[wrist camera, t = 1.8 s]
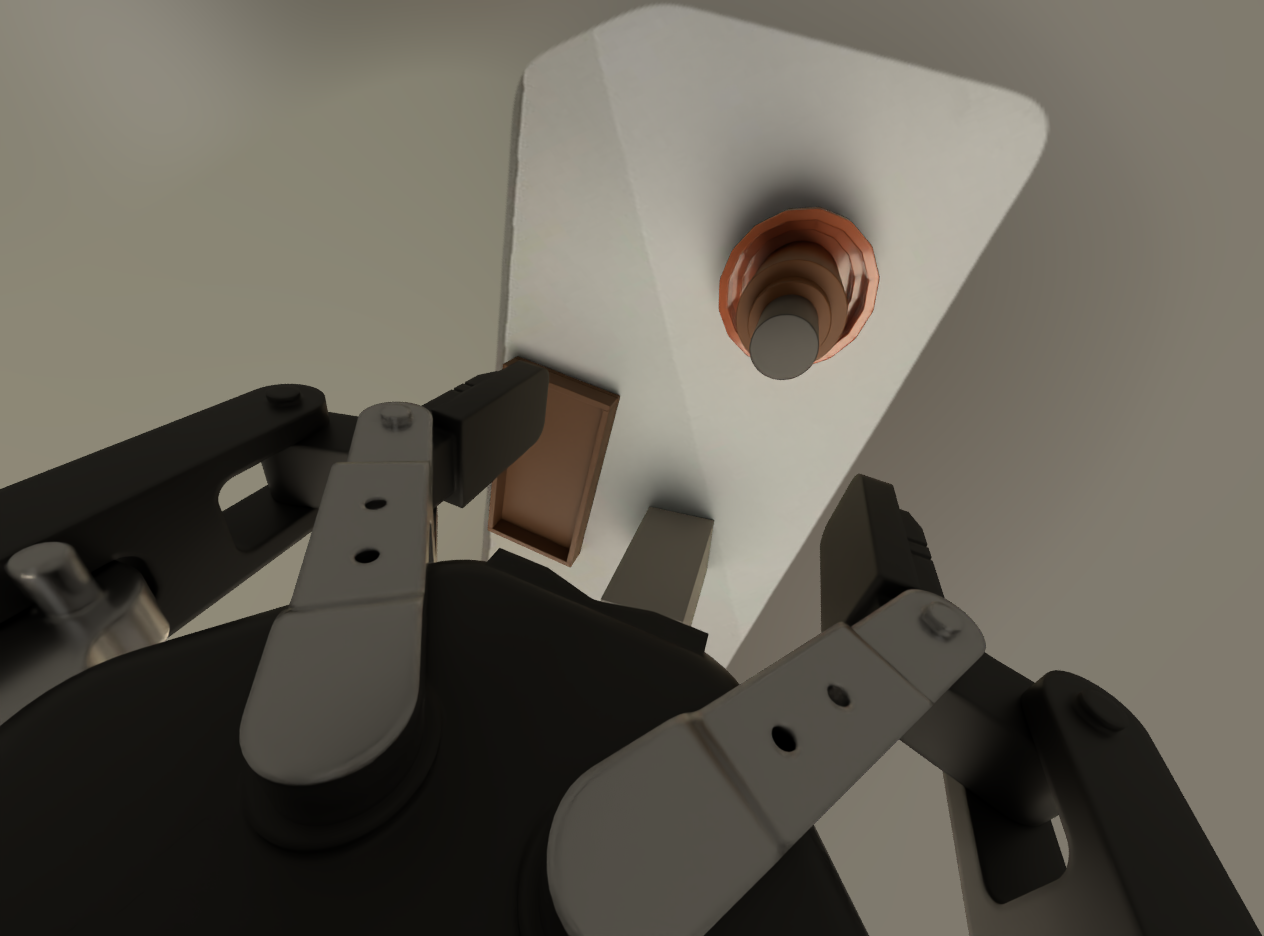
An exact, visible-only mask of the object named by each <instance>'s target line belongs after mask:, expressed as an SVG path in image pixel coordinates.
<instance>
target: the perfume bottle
mask: <svg viewBox="0 0 1264 936" xmlns="http://www.w3.org/2000/svg"><path fill="white" fill-rule="evenodd" d="M713 525H714V520H709V519H704V518H700V517H695V516H690V515H686V514H681V513H677V512H672V511H667V510H663V509H658V508H654V507H649V508H648V510H647V512H646V514H645V516H644V518H643V520H642V522H641V524H640V526H639V527H638V529H637V531H636V533H635V535H634V537H633V539H632V541H631V543H630V545H629V546H628V548H627V550H626V552H625V554H624V556H623V558H622V560H621V562H620V564H619V566H618V567H617V569H616V571H615V573H614V575H613V577H612V579H611V581H610V583H609V585H608V586H607V588H606V590H605V592H604V594H603V596H602V598H601V602H606V603H612V604H617V605H622V606H628V607H633V608H638V609H644V610H649V611H654V612H657V613H659V614H661V615H664V616H666V617H669V618H671V619H674V620H676V621H678V622H681V623H683V624H686V625H688V626H691V624H692V621H693V617H694V614H695V610H696V607H697V603H698V600H699V596H700V593H701V589H702V586H703V582H704V579H705V575H706V572H707V566H708V559H709V552H710V545H711V538H712V531H713Z"/></svg>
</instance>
